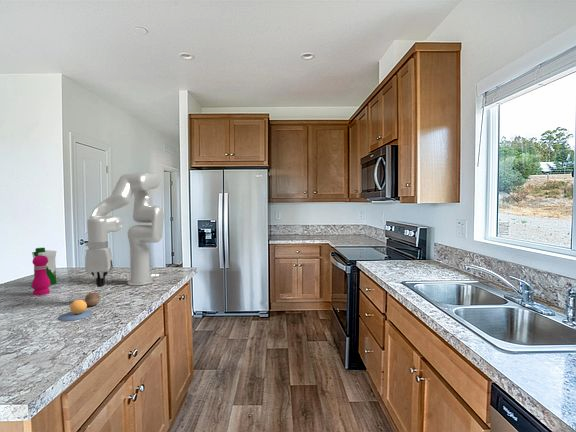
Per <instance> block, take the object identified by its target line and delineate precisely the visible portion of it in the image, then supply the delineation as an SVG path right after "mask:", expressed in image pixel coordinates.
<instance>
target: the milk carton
mask: <svg viewBox="0 0 576 432" xmlns="http://www.w3.org/2000/svg"><path fill="white" fill-rule="evenodd" d="M40 252H41V253H42V256H46V257H47V258H48V263H47V264H46V265H47V268H46V274H47V276H48V278H49V280H50V286H53V285H56V284H57V274H56V273H57V272H56V271H57V269H56V257H57V250H49V249H48V250H46V248H45V247H36V248H35V251H31V255H32V258H33V259H34V258H35V257H36V256H38V253H40ZM33 259H32V260H33ZM34 266H35V265H34V264H33V267H34ZM33 272H34V274H33V275H34V277H35V269H34V268H33ZM34 277H33V278H34Z"/></svg>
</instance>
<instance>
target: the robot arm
mask: <svg viewBox="0 0 576 432" xmlns="http://www.w3.org/2000/svg"><path fill="white" fill-rule="evenodd" d="M160 185H161V179H160V176H159V174H158V173H156V172H133V173H124V174H122V175H121V176H120V177H119V179H118V181H117V182H116V184H115V186H114V188H113V191H112V192H111V195H110V196H108V197H107V198H106V199H104V200H103V201H101V202H100V203H98V204H97V205H96V206H95V207H94V209H92V212H91V214H90V216H89V218H88V219H87V221H86V224H87V225H86V227H87V229H86V230H87V240H88V242H87V243H86V242H85V247H87V248H88V249H86V250H85V251H86V252H85V257H84V260H85V261H84V270H85V272H86V274H88V275H92V276H93V277H94V279H95V282H96V286H97V288H102V287H104V286H105V284H106V277H107V275H110V274H112V273H114V269H113V268H114V262H113V261H114V260H113V256H112V255H113V254H112V251H111V248H110V247H109V237H108V236H109V235H108V233H116V232H118V231H121V229H122V228H123V226H124V221H123V220H122V218H121V217H119V216H117V215H108V214H109V213H111V212H114V211H116V210H119V209H121V208H124V207H125V206H127V205H128V204H129V203H130V201H131V198H132V197H133V196H134V202H133V212H132V219H133V221H134V222H135V223H137V224H135V225H132V226H131V227H129V229H128V230H127V239H128V243H129V244H128V245H129V251H130V252H129V253H130V254H129V255H130V256H129V257H130V259H129V260H130V262H129V264H130V280H128V281H127V285H129V286H144V285H145V286H146V285H149V284H151V283H153V282H154V280H153V279H155V278H159V276H160V274H159V273H151V271H150V269H151V268H150V267H151V266H150V247H148V245H147V244H149V243H151V244H157V243H159V242H160V241H161V240H162V237H163V232H164V231H163V230H164V221H165V213H164V210H163V208H162V207H161V206H160V205H152V196H151V194H150V192H149V190H155V189H157V188H159V186H160ZM139 223H142V224H139ZM145 223H146V224H145ZM147 224H148V225H147ZM149 224H151V225H149Z"/></svg>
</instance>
